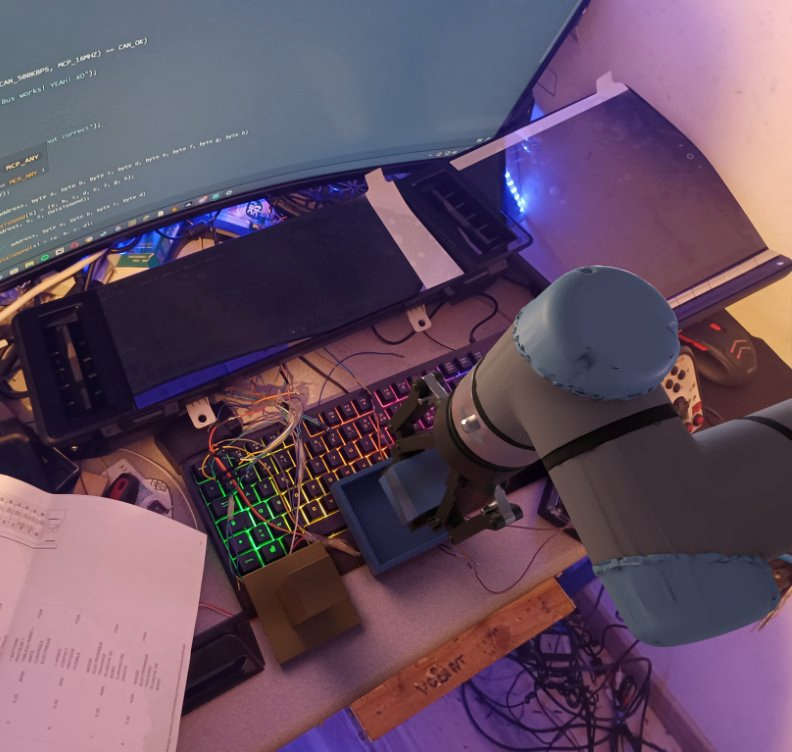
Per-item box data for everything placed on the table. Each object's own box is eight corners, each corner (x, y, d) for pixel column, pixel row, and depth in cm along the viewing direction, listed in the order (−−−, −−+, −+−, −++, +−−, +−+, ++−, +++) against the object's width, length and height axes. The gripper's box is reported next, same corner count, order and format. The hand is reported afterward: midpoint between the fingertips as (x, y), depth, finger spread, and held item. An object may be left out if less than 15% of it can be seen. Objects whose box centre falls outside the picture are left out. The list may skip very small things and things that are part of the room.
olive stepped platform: (358, 623, 72) (389, 611, 61) (278, 664, 70) (295, 660, 59) (319, 541, 75) (341, 516, 64) (241, 578, 73) (250, 558, 62)
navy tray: (453, 536, 77) (462, 532, 75) (372, 577, 74) (378, 573, 72) (408, 453, 80) (414, 446, 78) (328, 489, 78) (332, 483, 75)
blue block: (446, 505, 70) (464, 493, 65) (402, 526, 68) (418, 515, 64) (421, 460, 71) (437, 445, 67) (378, 480, 70) (391, 465, 65)
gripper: (393, 329, 52) (333, 432, 73) (524, 560, 47) (419, 599, 68) (478, 296, 54) (396, 405, 75) (613, 513, 49) (484, 565, 70)
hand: (407, 497), depth 72 cm, fingers closed on blue block, 5 cm apart
